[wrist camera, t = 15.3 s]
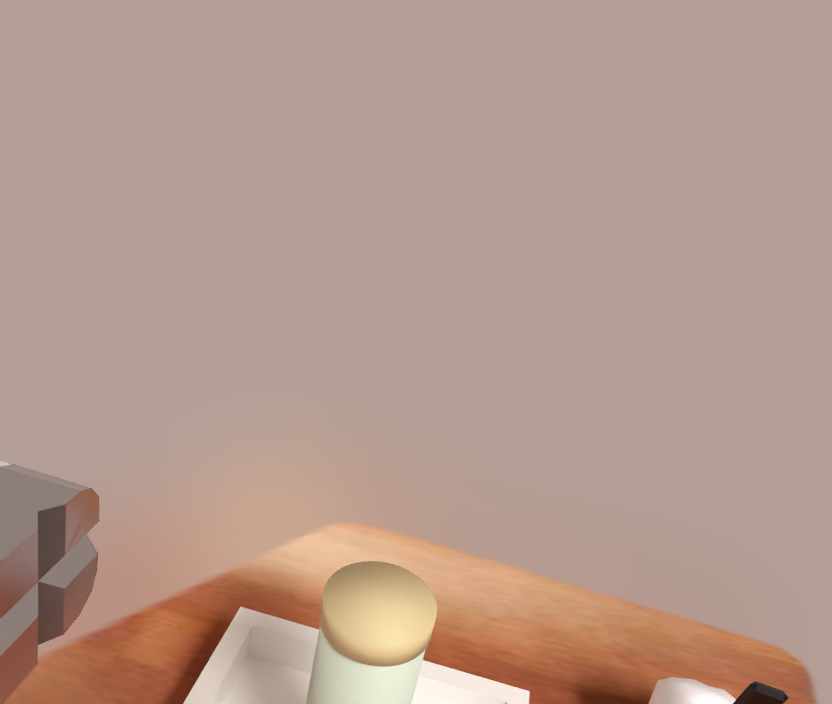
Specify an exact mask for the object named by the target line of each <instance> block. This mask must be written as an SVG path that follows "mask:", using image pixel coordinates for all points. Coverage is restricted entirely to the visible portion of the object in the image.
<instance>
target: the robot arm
mask: <svg viewBox="0 0 832 704" xmlns="http://www.w3.org/2000/svg"><path fill="white" fill-rule="evenodd" d="M97 522H99V496H98V495H97V494H96V492H95V491H94V490H93V489H92V488H89V487H86V486H82V485H79V484H76V483H73V482H70V481H66V480H63V479H60V478H57V477H53V476H50V475H47V474H43V473H40V472H37V471H34V470H30V469H28V468H24V467H21V466H18V465H15V464H13V465H11V464H9V463H6V462H3V461H0V704H3V703H4V701H5V700H6V699H7V698H8V697H9V696H10V695H11V694H12V692H13V691H14V690H15V689H16V688H17V687H18V686H19V684H20V683H21V682H22V681H23V680H24V679H25V678H26V677H27V675H28V674H29V673H30V672H31V671H32V670H33V669H34V667H35V666H36V665H37V658H38V645H39V644H41V643H44V642H46V641H49V640H51V639H53V638H56V637H58V636H61V635H63V634H64V633H65V632H66V631H67V629H68V628H69V627H70V626H71V625H72V623H73V622H74V621H75V620H76V619H77V617H78V616H79V615H80V613H81V611H82V609H83V607H84V605H85V603H86V601H87V599H88V597H89V595H90V593H91V591H92V588H93V584H94V580H95V576H96V572H97V560H98V552H97V551H96V549H95V547H94V546H93V544H92V542H91V541H90V539H89V537H88V536H87V533H88V532H89V531H90V530H91V529H92V528H93V527H94V526H95V524H97Z"/></svg>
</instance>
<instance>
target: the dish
mask: <svg viewBox="0 0 832 704" xmlns="http://www.w3.org/2000/svg"><path fill="white" fill-rule="evenodd" d="M318 634H319V630H318V629H315V628H312V627H308V626H305V625H301V624H298V623H295V622H291V621H288V620H284V619H281V618H278V617H274V616H271V615H267V614H264V613H260V612H257V611H254V610H250V609H247V608H243V607H240V608H239V610H238V612H237V614H236V615H235V617H234V619H233V620H232V622H231V624H230V625H229V627H228V629H227V630H226V632H225V634H224V635H223V637H222V639H221V641H220V642H219V644H218V646H217V647H216V649H215V651H214V652H213V654H212V656H211V657H210V659H209V661H208V663H207V664H206V666H205V668H204V669H203V671H202V673H201V674H200V676H199V678H198V679H197V681H196V683H195V685H194V686H193V688H192V690H191V691H190V693H189V695H188V696H187V698H186V700H185V701H184V703H183V704H306V699H307V694H308V688H309V683H310V677H311V672H312V667H313V661H314V656H315V650H316V645H317V639H318ZM411 704H529V691H526V690H523V689H520V688H516V687H513V686H509V685H506V684H503V683H499V682H496V681H492V680H489V679H485V678H482V677H479V676H475V675H472V674H468V673H465V672H462V671H458V670H455V669H451V668H448V667H445V666H441V665H438V664H434V663H431V662H428V661H424V660H422V664H421V668H420V672H419V676H418V680H417V684H416V687H415V691H414V695H413V699H412V703H411Z"/></svg>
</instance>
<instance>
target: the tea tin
mask: <svg viewBox="0 0 832 704" xmlns="http://www.w3.org/2000/svg"><path fill="white" fill-rule="evenodd" d="M436 616H437V603H436V599H435V597H434V594H433V593H432V591H431V589H430V588H429V587H428V586H427V584H426V583H425V582H424V581H423V580H422V579H420V578H419V577H418V576H416V575H415V574H413V573H412V572H410V571H408V570H406V569H404V568H402V567H399V566H396V565H393V564H389V563H384V562H374V561H368V562H358V563H354V564H350V565H348V566H345V567H343V568H341V569H340V570H338V571H337V572H335V573H334V574H333V575H332V576H331V577H330V578H329V580H328V581H327V583H326V585H325V588H324V593H323V598H322V604H321V610H320V616H319V619H320V628H319V634H318V639H317V645H316V650H315V656H314V661H313V667H312V672H311V677H310V683H309V688H308V694H307V699H306V704H411V703H412V699H413V695H414V691H415V687H416V684H417V680H418V676H419V672H420V668H421V664H422V660H423V656H424V653H425V649H426V648H427V646H428V644H429V642H430V639H431V635H432V631H433V627H434V624H435V620H436Z"/></svg>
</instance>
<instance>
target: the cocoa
mask: <svg viewBox="0 0 832 704" xmlns="http://www.w3.org/2000/svg"><path fill="white" fill-rule="evenodd" d="M787 699H788V697H787V695H786V694H785V693H784V692H783V691H781V690H779V689H776V688H773V687H770V686H767V685H765V684H762V683H759V682H756V681H755V682H753V683H751V684H750V685H749V686H748V687H747V688H746V689H745V690H744V692H743V693H742V694H741V695H740V696H739V697H738V698H737V699H735V698H734V697H732V696H731V695H730V694H729V693H728V692H726V691H725V690H724V689H719V688H714V687H710V686H707V685H705V684H703V683H701V682H698V681H696V680H693V679H685V678H675V677H671V678H667V679H662V680H658V682H657V684H656V686H655V689H654V691H653V694H652V696H651V698H650V701H649V703H648V704H783V703H784V702H785V701H786V700H787Z"/></svg>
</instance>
